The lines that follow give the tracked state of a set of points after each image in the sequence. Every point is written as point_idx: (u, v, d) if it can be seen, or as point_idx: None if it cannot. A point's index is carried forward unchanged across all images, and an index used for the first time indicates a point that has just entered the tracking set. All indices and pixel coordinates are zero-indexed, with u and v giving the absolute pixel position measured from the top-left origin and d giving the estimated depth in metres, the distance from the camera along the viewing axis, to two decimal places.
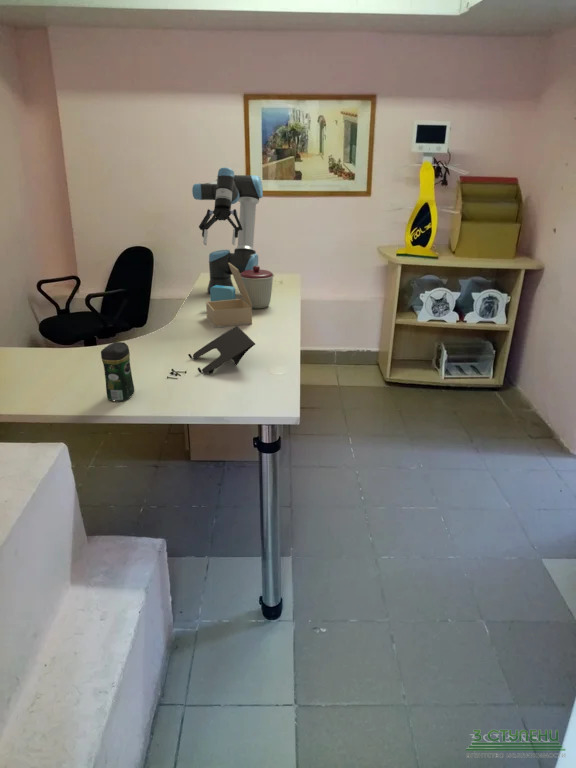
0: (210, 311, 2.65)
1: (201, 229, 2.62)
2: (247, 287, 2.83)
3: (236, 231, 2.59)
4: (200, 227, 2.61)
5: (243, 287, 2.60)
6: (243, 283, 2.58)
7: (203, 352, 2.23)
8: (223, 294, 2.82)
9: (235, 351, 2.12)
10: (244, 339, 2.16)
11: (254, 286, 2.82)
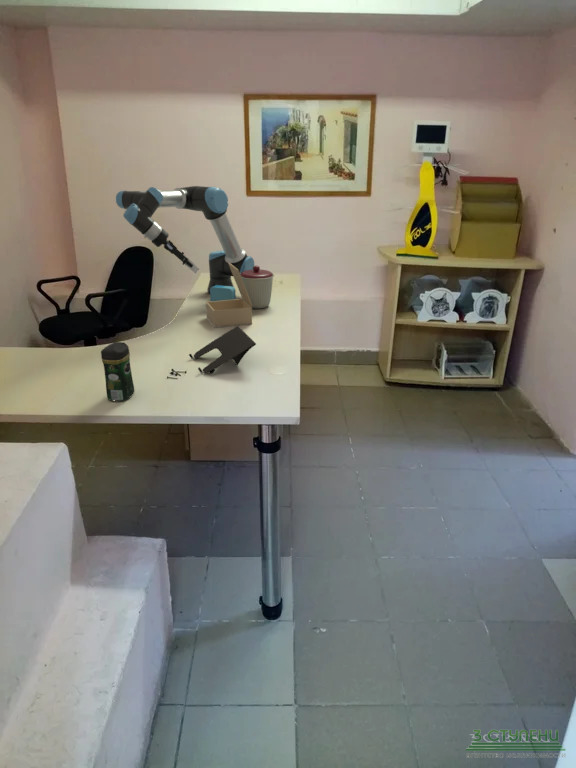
0: (210, 311, 2.65)
1: None
2: (247, 287, 2.83)
3: (186, 264, 2.47)
4: None
5: (243, 287, 2.60)
6: (243, 283, 2.58)
7: (204, 352, 2.23)
8: (223, 294, 2.82)
9: (236, 351, 2.12)
10: (244, 339, 2.16)
11: (254, 286, 2.82)
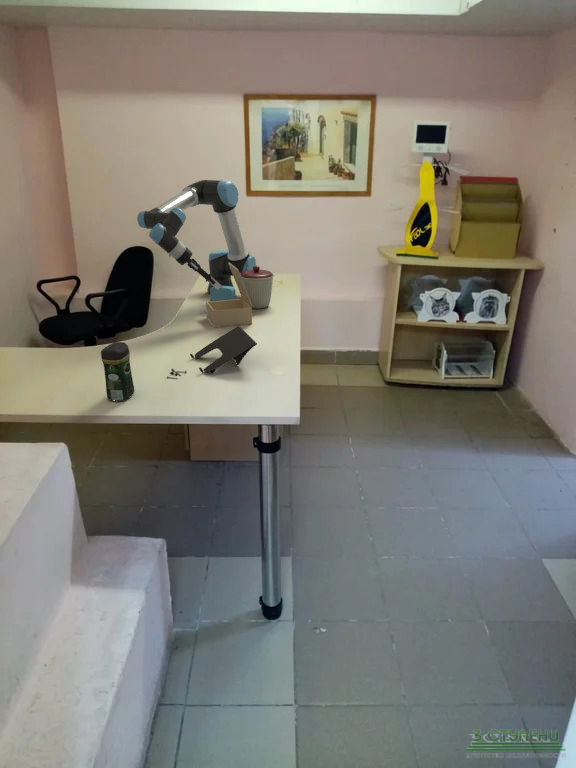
0: (210, 311, 2.65)
1: None
2: (247, 287, 2.83)
3: (209, 281, 2.58)
4: None
5: (243, 287, 2.60)
6: (243, 283, 2.58)
7: (205, 352, 2.23)
8: (223, 294, 2.82)
9: (237, 351, 2.12)
10: (245, 339, 2.17)
11: (254, 286, 2.82)
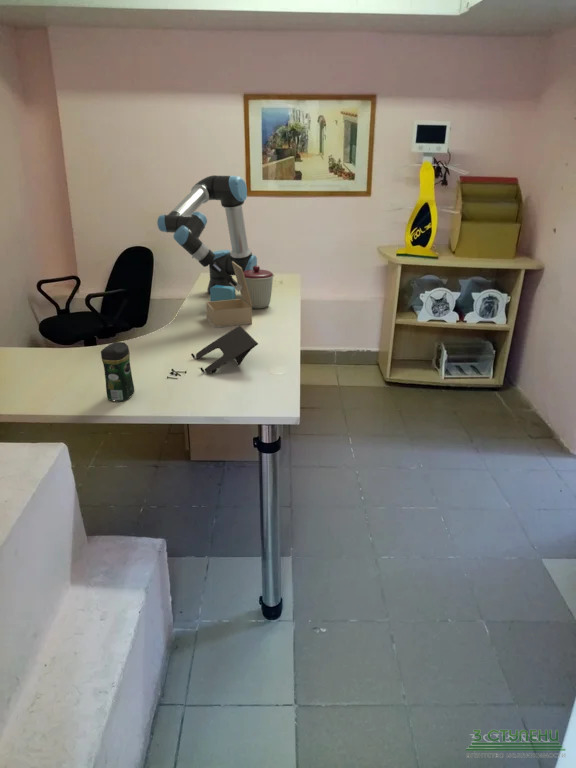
0: (210, 311, 2.65)
1: None
2: None
3: (231, 282, 2.62)
4: (225, 279, 2.65)
5: (245, 286, 2.60)
6: (245, 282, 2.58)
7: (206, 352, 2.24)
8: (223, 294, 2.82)
9: (238, 351, 2.12)
10: (246, 339, 2.17)
11: (254, 286, 2.82)
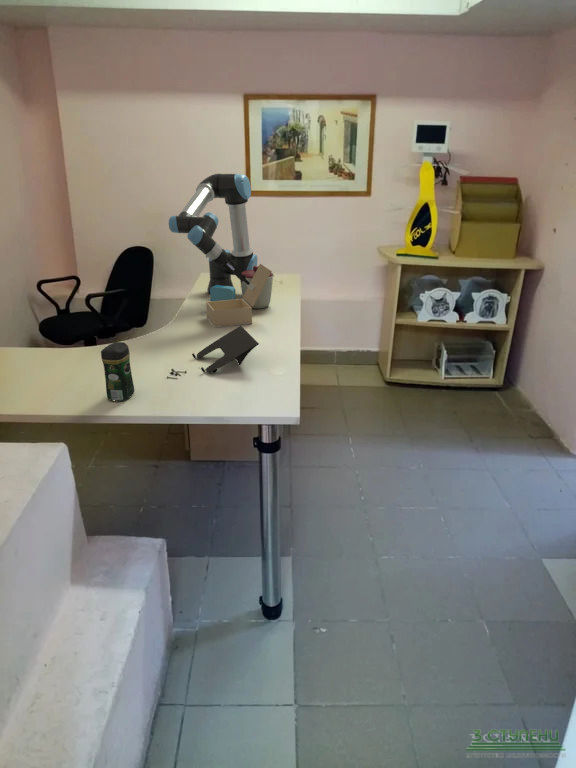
0: (210, 311, 2.65)
1: None
2: (247, 287, 2.83)
3: (244, 281, 2.64)
4: None
5: (260, 287, 2.62)
6: (264, 284, 2.61)
7: (207, 352, 2.24)
8: (223, 294, 2.82)
9: (238, 351, 2.12)
10: (247, 339, 2.17)
11: None
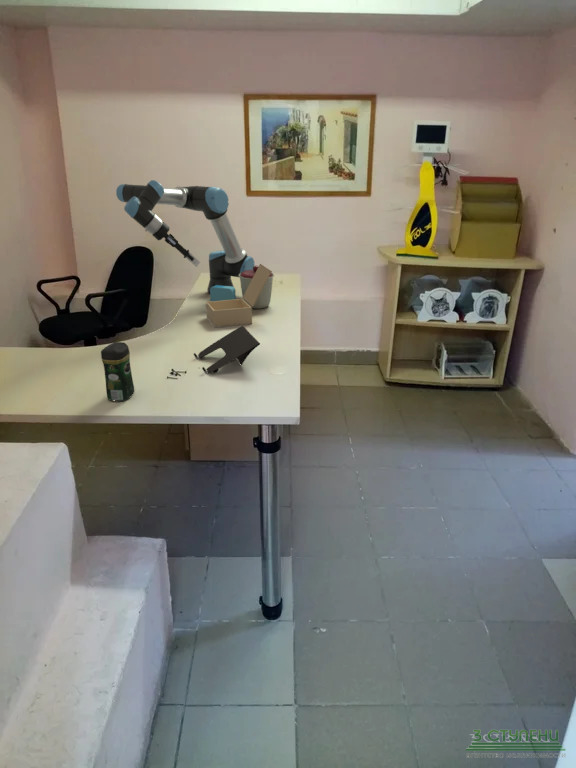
0: (210, 311, 2.65)
1: None
2: (247, 287, 2.83)
3: (188, 257, 2.51)
4: (182, 253, 2.54)
5: (260, 287, 2.62)
6: (264, 284, 2.61)
7: (208, 352, 2.24)
8: (223, 294, 2.82)
9: (240, 351, 2.12)
10: (248, 339, 2.17)
11: None
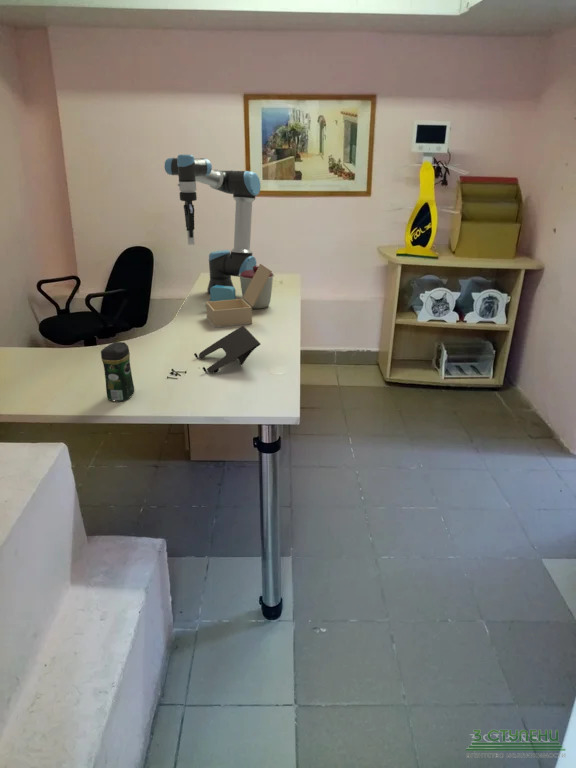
0: (210, 311, 2.65)
1: None
2: (247, 287, 2.83)
3: (189, 232, 2.62)
4: (186, 226, 2.64)
5: (260, 287, 2.62)
6: (264, 284, 2.61)
7: (209, 351, 2.24)
8: (223, 294, 2.82)
9: (240, 351, 2.12)
10: (249, 339, 2.17)
11: None
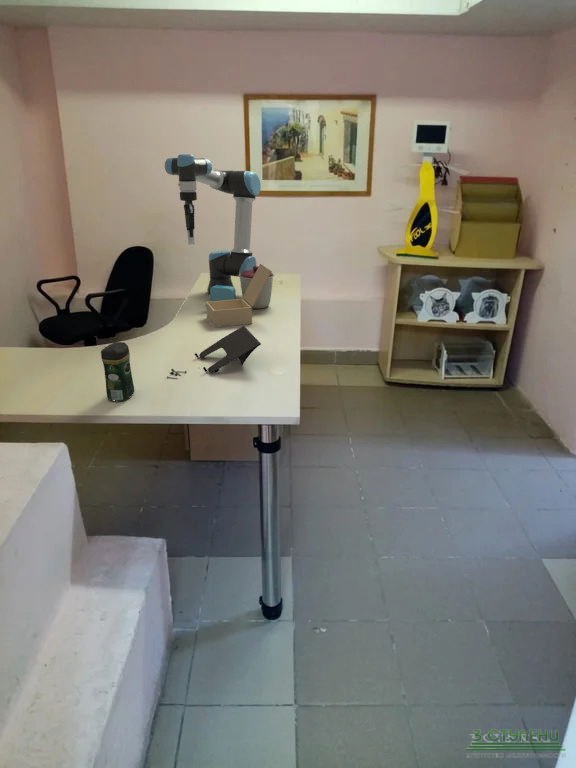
0: (210, 311, 2.65)
1: None
2: (247, 287, 2.83)
3: (189, 232, 2.62)
4: (186, 226, 2.65)
5: (260, 287, 2.62)
6: (264, 284, 2.61)
7: (209, 351, 2.24)
8: (223, 294, 2.82)
9: (241, 351, 2.12)
10: (250, 339, 2.17)
11: None
